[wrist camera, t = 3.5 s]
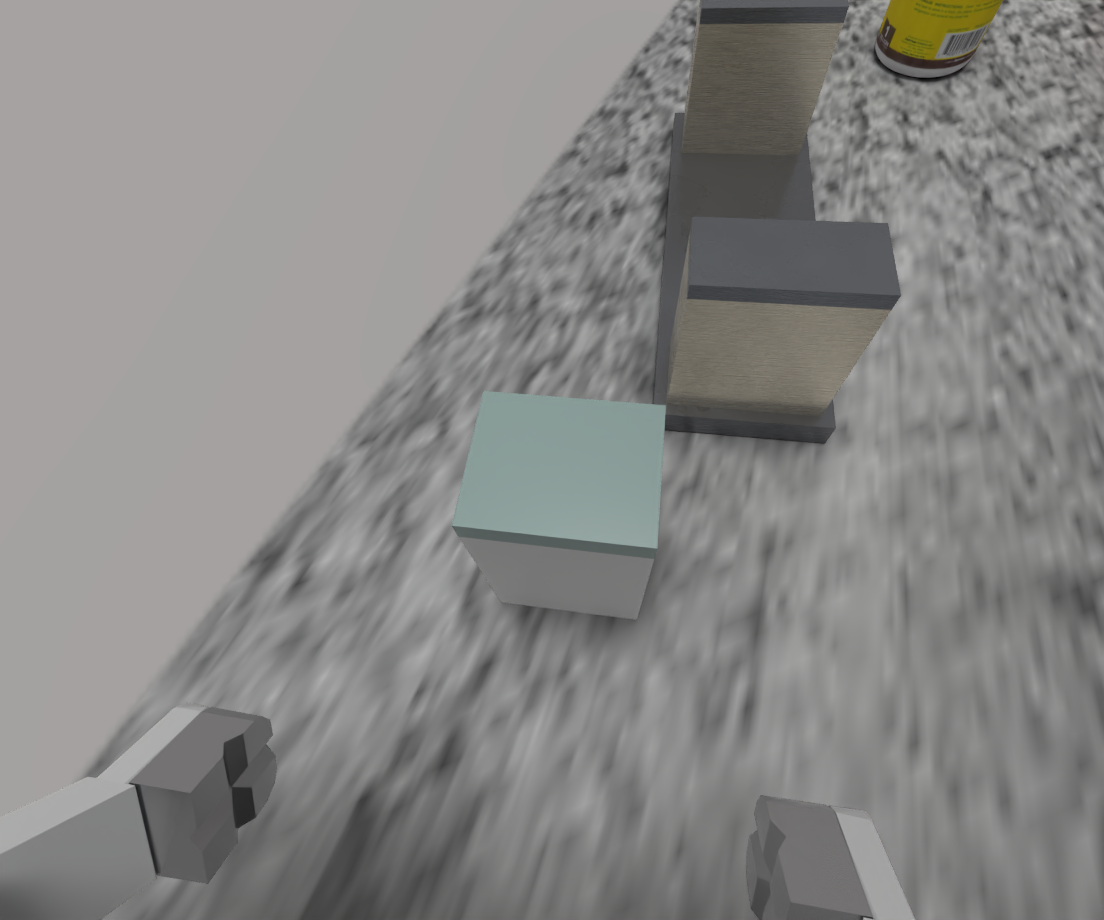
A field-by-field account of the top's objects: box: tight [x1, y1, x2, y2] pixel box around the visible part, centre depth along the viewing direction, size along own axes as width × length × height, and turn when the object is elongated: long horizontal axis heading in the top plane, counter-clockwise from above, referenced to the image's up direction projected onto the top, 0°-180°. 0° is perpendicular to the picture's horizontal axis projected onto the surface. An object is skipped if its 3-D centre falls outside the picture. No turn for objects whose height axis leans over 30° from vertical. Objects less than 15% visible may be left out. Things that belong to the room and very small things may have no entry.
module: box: [452, 391, 666, 620], centre depth 18 cm, size 5×4×8 cm
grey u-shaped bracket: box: [653, 0, 901, 443], centre depth 24 cm, size 7×20×8 cm, turn 172°
